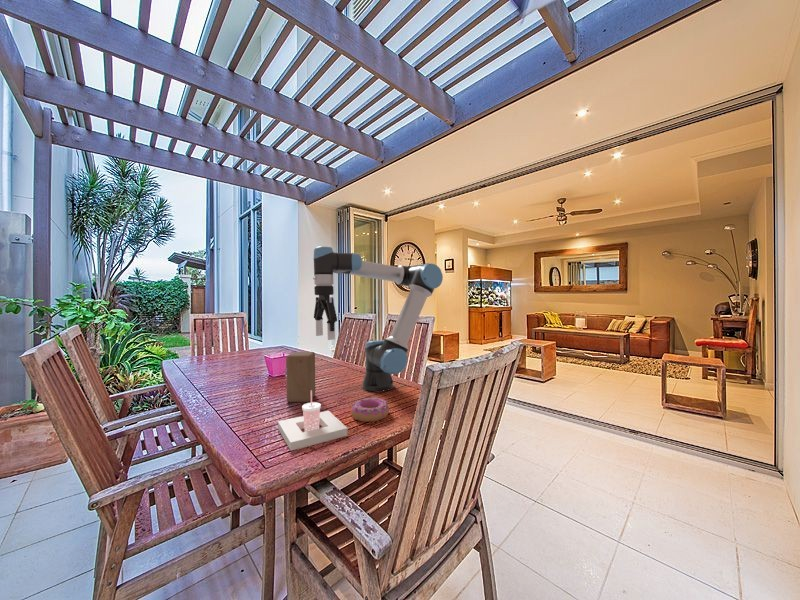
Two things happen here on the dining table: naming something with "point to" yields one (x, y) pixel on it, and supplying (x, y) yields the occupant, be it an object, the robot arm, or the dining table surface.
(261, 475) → the dining table surface
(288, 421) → the socket plate
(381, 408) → the donut
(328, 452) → the dining table surface
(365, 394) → the dining table surface
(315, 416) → the beverage cup
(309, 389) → the wooden block
